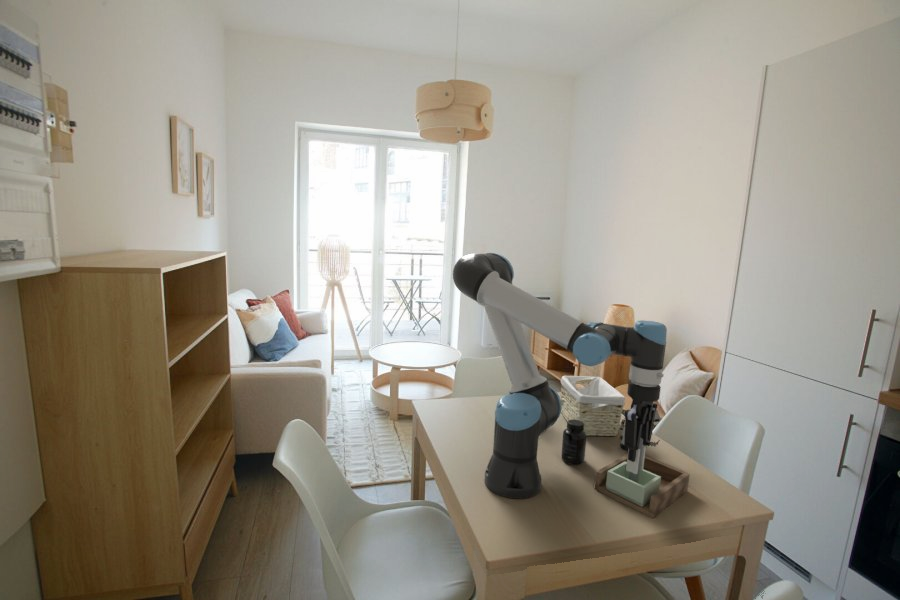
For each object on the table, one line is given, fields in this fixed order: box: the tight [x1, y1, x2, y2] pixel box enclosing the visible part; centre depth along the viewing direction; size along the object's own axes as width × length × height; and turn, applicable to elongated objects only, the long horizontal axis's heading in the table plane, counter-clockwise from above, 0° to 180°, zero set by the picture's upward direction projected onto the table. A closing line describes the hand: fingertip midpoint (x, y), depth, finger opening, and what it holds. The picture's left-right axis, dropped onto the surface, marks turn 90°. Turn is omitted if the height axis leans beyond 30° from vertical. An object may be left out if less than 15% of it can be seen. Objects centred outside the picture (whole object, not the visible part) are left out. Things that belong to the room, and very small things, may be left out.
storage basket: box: [560, 375, 626, 437], centre depth 166 cm, size 24×16×15 cm
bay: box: [594, 453, 691, 519], centre depth 123 cm, size 20×16×5 cm
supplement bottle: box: [561, 419, 587, 466], centre depth 138 cm, size 7×7×12 cm
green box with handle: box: [606, 437, 661, 507], centre depth 119 cm, size 9×10×15 cm
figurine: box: [618, 408, 661, 450], centre depth 144 cm, size 9×12×15 cm
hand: (634, 469), depth 119 cm, fingers closed on green box with handle, 2 cm apart
